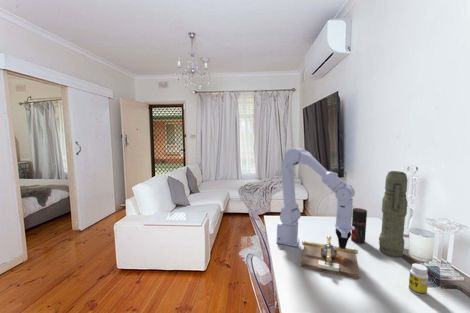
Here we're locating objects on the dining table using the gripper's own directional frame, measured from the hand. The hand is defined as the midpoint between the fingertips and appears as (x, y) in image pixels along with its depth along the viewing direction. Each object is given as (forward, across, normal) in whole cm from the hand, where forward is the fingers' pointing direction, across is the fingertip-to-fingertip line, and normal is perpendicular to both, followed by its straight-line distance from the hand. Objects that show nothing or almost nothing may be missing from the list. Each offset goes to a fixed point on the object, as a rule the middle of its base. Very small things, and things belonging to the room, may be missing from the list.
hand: (342, 248), depth 97 cm
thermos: (+5, +14, -20) cm, 25 cm away
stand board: (+4, -3, +5) cm, 7 cm away
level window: (+3, -12, +5) cm, 13 cm away
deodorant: (+5, +21, -8) cm, 23 cm away
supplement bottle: (+5, -13, -22) cm, 26 cm away
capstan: (+3, -3, +5) cm, 7 cm away
